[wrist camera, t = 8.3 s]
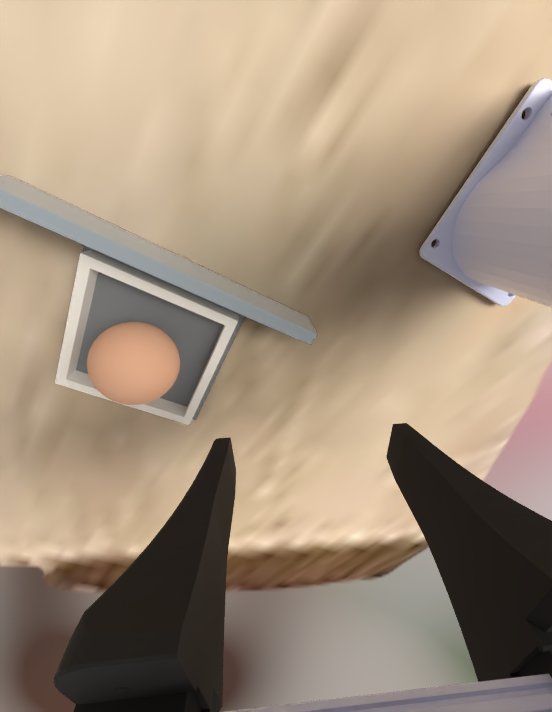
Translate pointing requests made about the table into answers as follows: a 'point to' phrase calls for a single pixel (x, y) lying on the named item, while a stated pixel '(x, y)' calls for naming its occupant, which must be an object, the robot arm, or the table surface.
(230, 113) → the table surface
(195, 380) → the white square tray
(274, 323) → the low wall
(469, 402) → the table surface
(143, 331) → the ball
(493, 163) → the robot arm
